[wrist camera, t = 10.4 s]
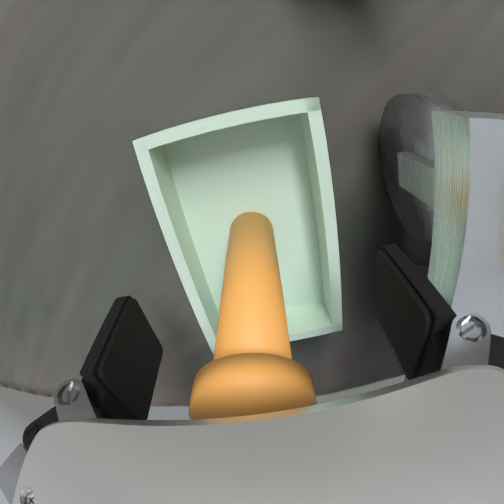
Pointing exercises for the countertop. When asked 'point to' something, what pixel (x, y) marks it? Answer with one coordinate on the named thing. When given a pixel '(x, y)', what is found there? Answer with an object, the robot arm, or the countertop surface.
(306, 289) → the tray
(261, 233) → the pin
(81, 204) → the countertop surface
